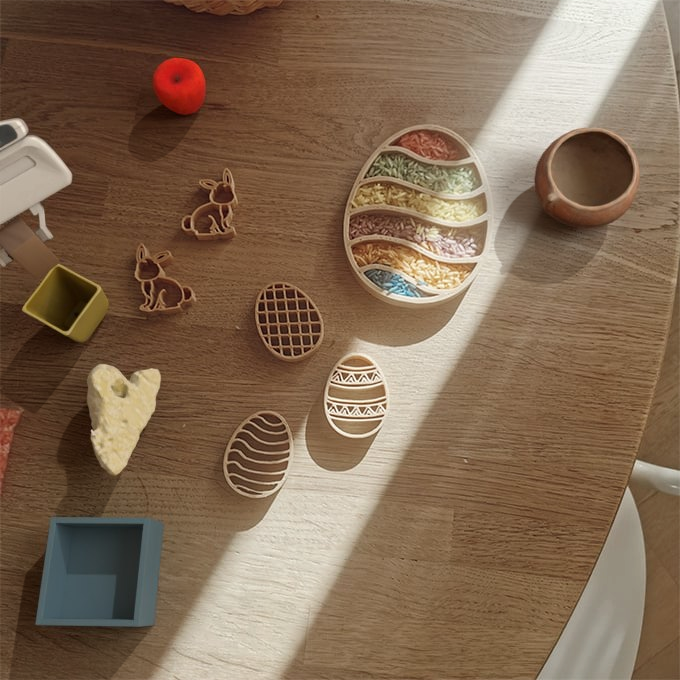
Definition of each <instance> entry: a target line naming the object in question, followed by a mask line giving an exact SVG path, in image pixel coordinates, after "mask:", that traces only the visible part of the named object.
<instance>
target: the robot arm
mask: <svg viewBox="0 0 680 680" xmlns="http://www.w3.org/2000/svg"><path fill="white" fill-rule="evenodd" d="M72 181H73V173H72V171H71V170H70V168H69V167H68V165H67V164H66V163H65V162H64V160H63V159H62V158H61V157H60V156H59V155H58V153H57V152H56V151H55V150H54V149H53V148H52V147H51V145H49V144H48V142H47V141H45V140H44V139H43V138H41V137H39V136H37V135H34V134H29V126H28V125H27V123H26V122H25V121H24V120H23V119H22V118H20V117H15V118H9V119H3V120H0V226H1V225H3V224H5V223H6V222H8V221H10V220H12V219H14V218H16V217H18V215H21V213H24V212H25V211H27V210H29V211H30V212H31V213H32V215H33V216H37V215H38V220H39V226H38V227H37V228H36V229H34V233H35V234H36V235H37V236H38V237H39V238H40V240H41V241H42V242H43V243H44V244H46V242H48V241H50V240H52V239H53V238H54V235H53V234H52V231H50V229H49V228H48V227H47V225H46V215H45V208H44V206H43V204H42V203H41V202H42V201H44V200H46V199H48V198H49V197H51V196H52V195H54V194H56V193H58V192H60V191H62V190H63V189H64V188H67V187H68V186H70V185H71V184H72ZM14 261H15V260H14V259H13V258H12V257H11V256H10V255H9V254H8V253H7V252H6V251H5V249H4V248H3V247H2V248H1V249H0V265H1V266H2V268H4V267H6V266H8V265H10V264H11V263H12V262H14Z"/></svg>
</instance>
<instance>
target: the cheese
mask: <svg viewBox="0 0 680 680" xmlns="http://www.w3.org/2000/svg"><path fill="white" fill-rule="evenodd" d="M161 380H162V376H161V372H160V370H159V369H158V368H152V367H150V368H147V369H140V370H138V371H137V370H136V371H135V372H132V374H131V376H130V378H129V380H128V379H127V377H126V376H124V374H123V373H122V372H121V371H120V370H119V369H118V368H117V367H115V366H113V365H109V364H105V363H99V364H97V365H96V366H94V367H93V368H92V369H91V371H90V372H89V373H88V376H87V379H86V384H87V387H88V388H87V395H86V403H87V407H88V411H89V418H90V420H91V424H90V425H91V427H92V429H91V430H90V432H91V433H90V442H91V444H92V448H93V452H94V455H95V457H96V459H97V460H98V463H99V465H100V467H101V468H102V469H104V470H105V471H106V473H107V474H110V475H111V476H117V475H119V474H120V473H122V471H123V470H124V469H125V468H126V467H127V465H128V463H129V460H130V458H131V455H132V454H133V451H134V450H135V448H136V447H137V444H138V442H139V440H140V435H141V433H142V432H143V430H144V429H145V428H146V426H147V425H148V422H149V421H150V420H151V418H152V415H153V414H154V413H155V410H156V407H157V401H156V399H157V395H158V393H159V391H160V388H161V383H162V381H161Z"/></svg>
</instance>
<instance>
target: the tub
mask: <svg viewBox="0 0 680 680" xmlns="http://www.w3.org/2000/svg"><path fill="white" fill-rule="evenodd" d="M164 526H165V523H164V522H162V521H159V520H157V519H154V518H151V517H99V516H98V517H95V516H93V517H92V516H91V517H87V516H86V517H85V516H84V517H83V516H64V517H63V516H51V517H50V520H49V528H48V535H47V539H46V540H47V541H46V547H45V548H46V549H45V554H44V563H43V569H42V575H41V582H40V588H39V589H40V590H39V596H38V597H39V598H38V604H37V611H36V618H35V622H34V623H35V626H59V627H60V626H65V627H66V626H67V627H71V626H72V627H128V628H129V627H131V628H135V627H136V628H139V627H140V628H141V627H152V626H155V621H156V611H157V602H158V601H157V599H158V589H159V579H160V570H161V569H160V568H161V559H162V546H163V537H164Z"/></svg>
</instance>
